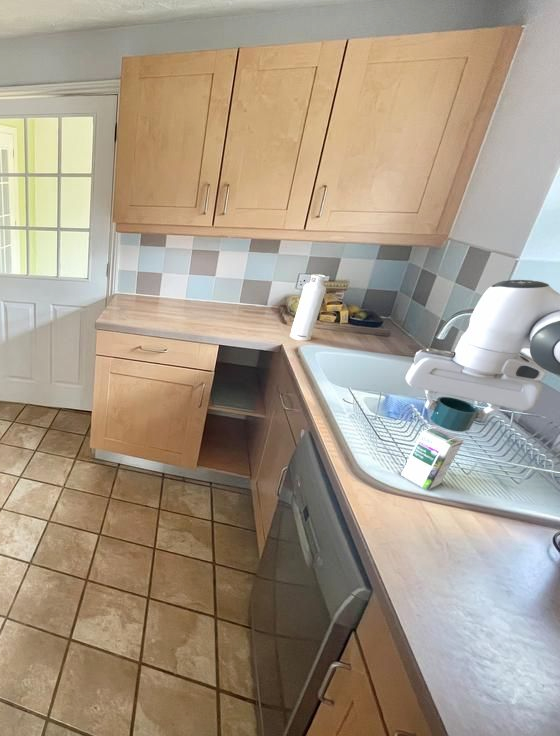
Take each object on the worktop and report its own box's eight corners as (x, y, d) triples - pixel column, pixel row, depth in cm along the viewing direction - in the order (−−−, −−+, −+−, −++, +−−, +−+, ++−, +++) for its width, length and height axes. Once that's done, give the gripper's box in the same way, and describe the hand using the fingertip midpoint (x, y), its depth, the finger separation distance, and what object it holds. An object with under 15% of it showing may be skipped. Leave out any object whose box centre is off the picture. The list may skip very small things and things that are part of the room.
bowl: (463, 421, 93) (473, 402, 91) (472, 436, 88) (483, 416, 86) (425, 412, 96) (434, 393, 94) (432, 426, 91) (441, 407, 89)
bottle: (285, 334, 186) (303, 273, 175) (299, 333, 189) (317, 272, 177) (300, 341, 179) (319, 278, 168) (314, 339, 182) (334, 277, 170)
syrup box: (397, 479, 101) (421, 430, 95) (411, 473, 103) (435, 425, 97) (424, 495, 96) (451, 444, 90) (438, 488, 98) (465, 438, 92)
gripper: (422, 351, 87) (397, 406, 93) (559, 375, 78) (522, 435, 84) (416, 341, 92) (393, 394, 98) (544, 363, 83) (510, 420, 89)
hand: (453, 413), depth 91 cm, fingers closed on bowl, 7 cm apart
